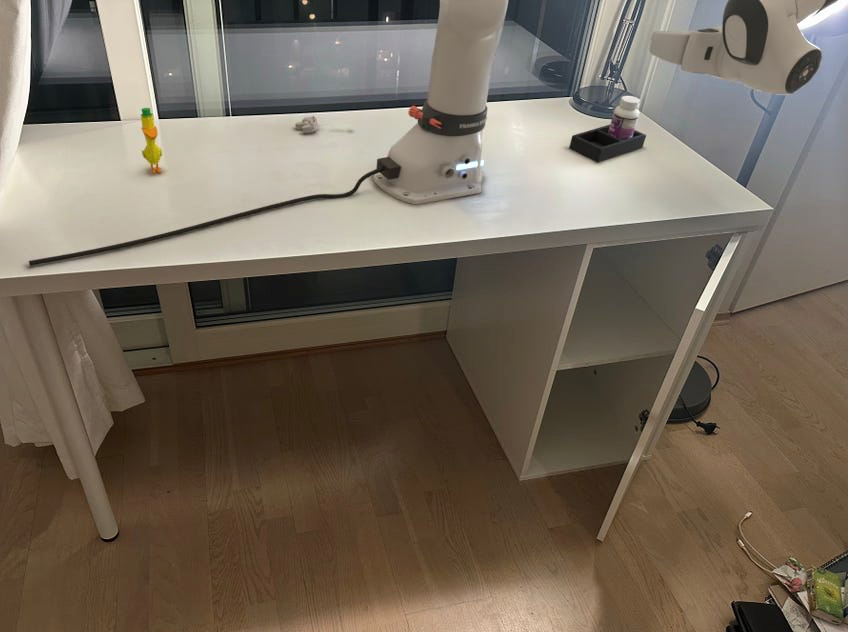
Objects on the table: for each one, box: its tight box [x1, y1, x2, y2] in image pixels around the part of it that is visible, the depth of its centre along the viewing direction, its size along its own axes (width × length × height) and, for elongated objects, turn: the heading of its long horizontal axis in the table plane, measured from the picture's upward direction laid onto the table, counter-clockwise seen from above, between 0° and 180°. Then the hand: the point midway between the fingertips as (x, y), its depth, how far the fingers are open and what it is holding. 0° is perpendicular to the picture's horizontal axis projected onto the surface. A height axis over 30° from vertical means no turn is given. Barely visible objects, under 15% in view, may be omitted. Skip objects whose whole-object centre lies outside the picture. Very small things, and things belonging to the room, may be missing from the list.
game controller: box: [294, 115, 350, 134], centre depth 154 cm, size 6×12×3 cm, turn 109°
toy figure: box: [140, 107, 163, 175], centre depth 131 cm, size 7×4×12 cm, turn 24°
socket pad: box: [568, 124, 647, 164], centre depth 155 cm, size 8×15×3 cm, turn 126°
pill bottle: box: [608, 95, 641, 140], centre depth 154 cm, size 5×5×10 cm
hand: (674, 35), depth 133 cm, fingers open, 8 cm apart
